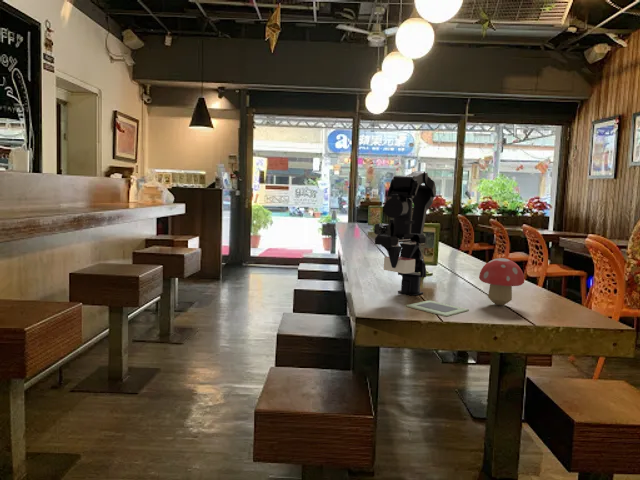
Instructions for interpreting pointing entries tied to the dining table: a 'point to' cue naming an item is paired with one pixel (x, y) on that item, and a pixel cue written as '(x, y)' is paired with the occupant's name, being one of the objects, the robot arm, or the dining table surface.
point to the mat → (437, 308)
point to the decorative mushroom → (501, 279)
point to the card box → (400, 265)
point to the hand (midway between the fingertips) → (399, 267)
